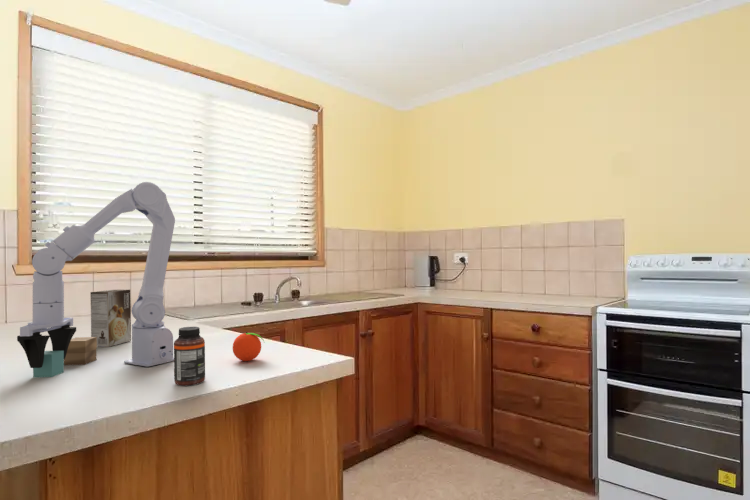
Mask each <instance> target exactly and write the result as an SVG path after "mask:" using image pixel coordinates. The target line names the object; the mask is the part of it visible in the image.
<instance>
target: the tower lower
mask: <svg viewBox="0 0 750 500" xmlns="http://www.w3.org/2000/svg"><path fill="white" fill-rule="evenodd" d="M97 351H98V350H97V349H95V350H92V351H90V352H87V353H67V354H66V357H65V359H64V366H83V365H84V366H85V365H88V364H91V363H93V362H95V361H97V358H98V357H97V356H98V355H97V354H98V353H97Z"/></svg>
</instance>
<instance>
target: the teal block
mask: <svg viewBox="0 0 750 500" xmlns="http://www.w3.org/2000/svg"><path fill="white" fill-rule="evenodd" d="M64 368H65V365H64V351H53V350H45V352H44V361H43V366H42V367H41V368H32V378H53V377H56V376H58V375H60V374H64V372H65V369H64Z"/></svg>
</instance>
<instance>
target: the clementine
mask: <svg viewBox="0 0 750 500" xmlns="http://www.w3.org/2000/svg"><path fill="white" fill-rule="evenodd" d="M261 340H262V341H263V342H265V340H264V338H263V337H262V336H261V335H260V334H258V333H254V332H248V331H246V332H245V333H240V334H239V335H238V336H237V337H236V338H235V339H234V340H233V343H232V353H233V355H234V356H235V357H236V359H238V360H240V361H242V362H251V361H253V360H255V359H256V358H257V357H258V356H259V355H260V353H261V351H262V342H261Z"/></svg>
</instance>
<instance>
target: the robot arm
mask: <svg viewBox="0 0 750 500" xmlns="http://www.w3.org/2000/svg"><path fill="white" fill-rule="evenodd" d="M167 198H168V197H167V194H166V193H165V192H164V191H163V190H162V189H161V188H160V187H159V186H158V185H157V184H156V183H153V182H151V181H143V182H140V183H137V185H136V186H135V187H134V188H133V189H132V188H130V189H128V190H127V191H125V192H123V193H122V194H119V195H118V196H117V197H115V198H114V199H113V200H111V201H110V202H109V203H108V204H107V205H106V206H105V207H104V208H102V209H101V210H100V211H98V213H96V214H95V215H94V216H93V217H91V218H90V219H89V220H87V221H86V222H85V223H84V224H73V225H71V226H68V225H67V226H65V227H64V228H63V229H62V231H63V232H62V233H61V234H59V235H58V236H57V237H56V238H54V239H53V240H52V241H47V242H46V243H45V244H44V246H45V247H43V248H41V249H38V251H37V252H36V253H35V254H34V255H33V257H32V259H31V264H32V267H33V269H34V270H35V271H34V272H33V275H32V280H33V282H32V302H31V303H32V319H31V321H30V322H27V324H26V325H24V326H20V327H19V335H17V337H16V338H17V339H16V340H17V342H18V343H19V344H20V346H21V348H22V349H23V350H24V353H25V355H26V358H27V361H28V365H29V368H31V369H33V368H41V367H42V366H43V361H44V352H45V351H46V346H47V343H48V341H49V339H50V341H51V347H52V348H51V349H52V350H51V351H64V359H65V357H66V353H67V350H68V346H69V343H70V341H71V339H73V337H74V335H75V333H76V332H77V327H76V326H74V317H65V282H64V280H63V269H64V267H65V265H66V262H69V261H70V262H72V261H73V260H74V259H76V258H77V257H78V256H80V255H81V254H82V253H83V252H84V251H85V250H86V249H87V248H89V247H90V246H91V245H93V244H94V243H95V234H96V233H98V232H99V231H100V230H102V229H103V228H104V227H105V226H107V225H109V224H110V223H111V222H112V221H113V220H115V219H116V218H117V217H119V216H120V215H121V214H125V213H130V212H133V211H135V210H137V211H138V212H140V213H142V215H144V216H145V217H146V218H147V219H148V220H149V221H150V223H151V224H152V229H151V230H152V231H151V234H150V240H149V241H150V242H149V245H148V250H147V256H146V261H145V267H144V272H143V277H142V283H141V284H142V285H141V287H140V290H139V292H138V297H137V299H136V300H135V302H133V305H132V306H131V316H132V317H133V318H134V319H135V321H134V322H133V323H131V359H126V360H124V361H123V363H124V364H129V365H135V366H141V367H145V368H146V367H148V368H149V367H154V366H156V365H161V364H165V363H169V362H174V334H173V333H172V331H171V330H170V328H167V327H166V326H165V321H163V320H164V318H165V314H166V309H165V306H164V296H165V295H164V284H165V279H166V274H167V267H168V262H169V258H170V257H169V256H170V251H171V247H172V246H171V245H172V241H173V234H174V229H175V224H176V218H175V215H174V213H173V211H172V209H171V205H170V204H169V202H168V199H167ZM72 326H73V327H72ZM44 332H45V333H46V332H47V333H48V335H43V334H41V333H44Z"/></svg>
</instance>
